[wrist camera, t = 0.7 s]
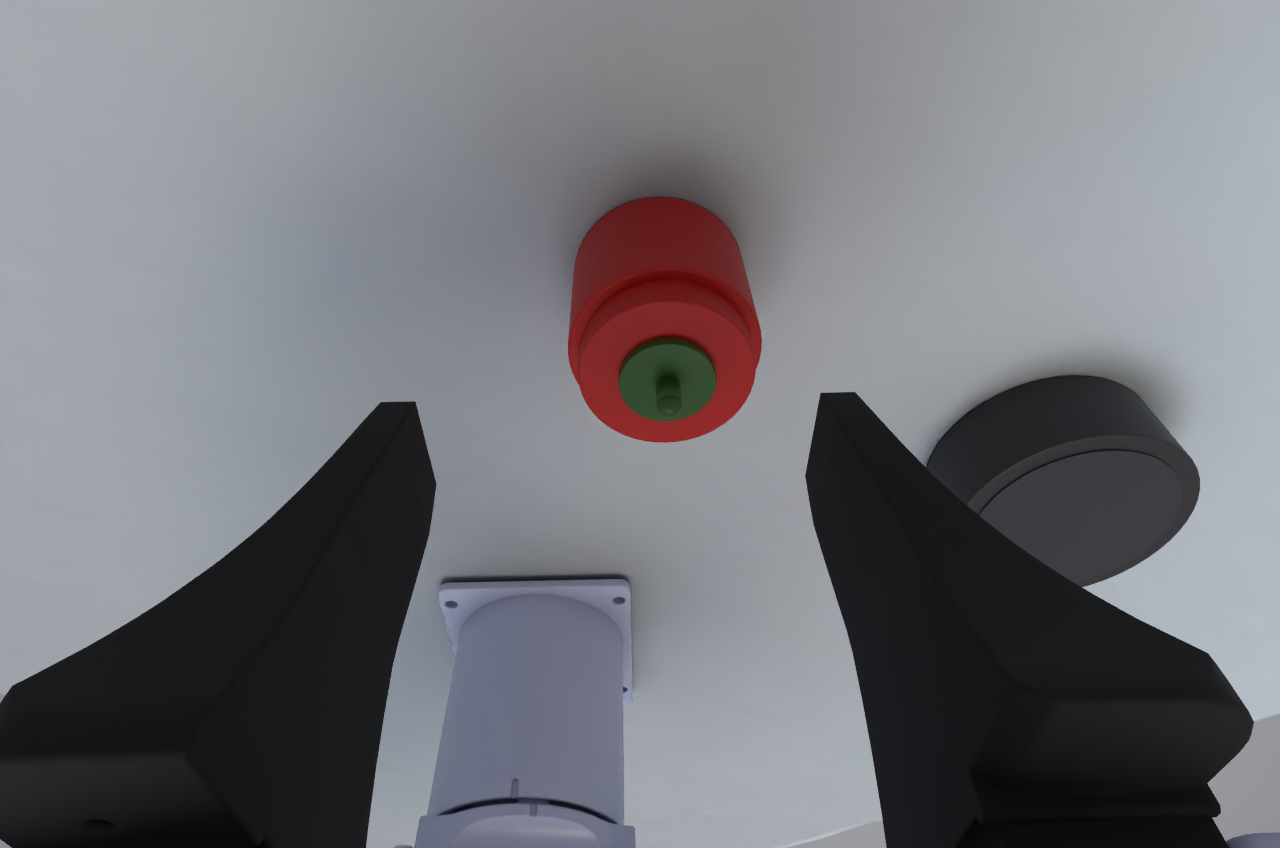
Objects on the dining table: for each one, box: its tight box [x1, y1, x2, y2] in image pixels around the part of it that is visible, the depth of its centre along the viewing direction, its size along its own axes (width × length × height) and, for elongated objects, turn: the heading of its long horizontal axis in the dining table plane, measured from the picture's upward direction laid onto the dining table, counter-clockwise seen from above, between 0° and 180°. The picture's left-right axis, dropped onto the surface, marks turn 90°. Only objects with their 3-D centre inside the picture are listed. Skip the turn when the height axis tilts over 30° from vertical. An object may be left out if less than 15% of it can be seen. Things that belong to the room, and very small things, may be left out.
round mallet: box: [927, 376, 1200, 587], centre depth 33 cm, size 26×8×3 cm, turn 0°
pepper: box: [568, 197, 762, 442], centre depth 20 cm, size 5×5×6 cm
